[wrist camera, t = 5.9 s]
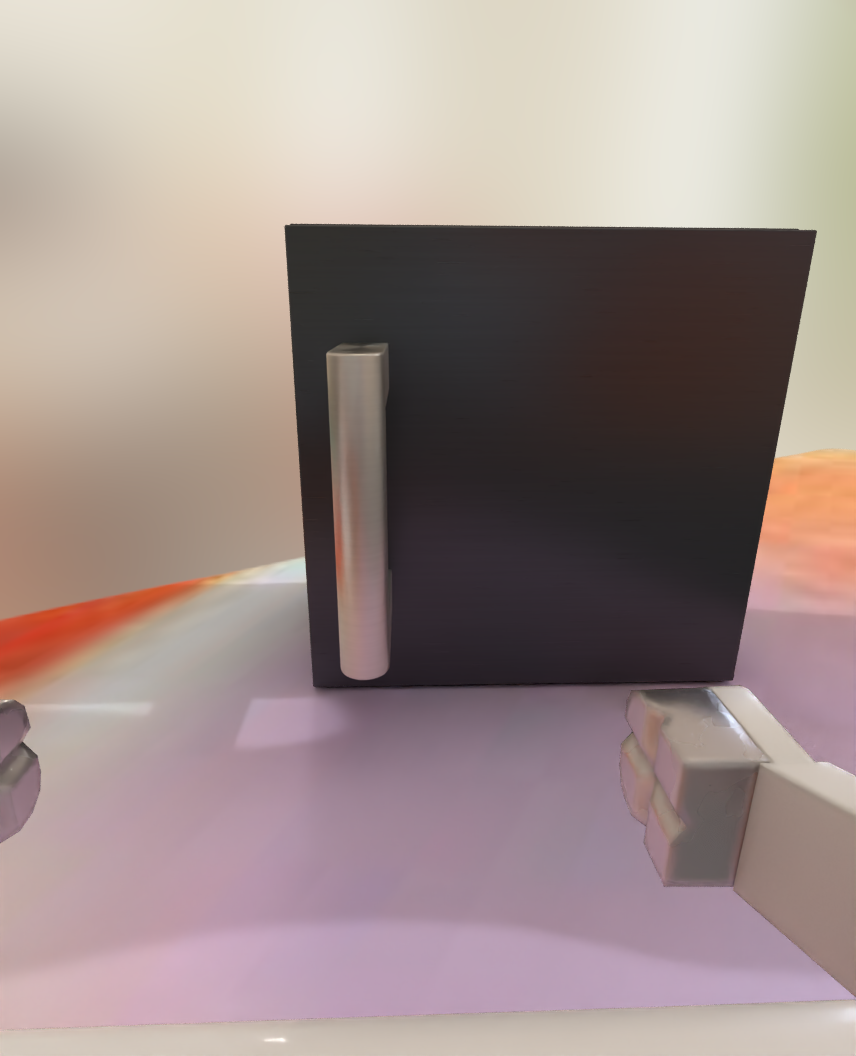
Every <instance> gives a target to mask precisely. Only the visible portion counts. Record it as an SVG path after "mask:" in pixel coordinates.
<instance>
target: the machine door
mask: <svg viewBox="0 0 856 1056" xmlns="http://www.w3.org/2000/svg"><path fill="white" fill-rule="evenodd" d="M816 233H817V231H816V230H748V229H646V228H543V227H440V226H337V225H285V241H286V257H287V272H288V289H289V304H290V321H291V337H292V353H293V369H294V385H295V401H296V416H297V433H298V448H299V464H300V481H301V496H302V512H303V529H304V544H305V561H306V577H307V593H308V609H309V625H310V641H311V657H312V673H313V686H314V687H327V686H392V685H458V684H524V683H589V682H655V681H721V680H733V677H734V671H735V666H736V661H737V655H738V650H739V645H740V639H741V634H742V629H743V623H744V618H745V613H746V607H747V602H748V596H749V591H750V586H751V580H752V575H753V570H754V564H755V559H756V554H757V548H758V543H759V538H760V532H761V527H762V522H763V516H764V511H765V506H766V500H767V495H768V490H769V484H770V479H771V474H772V468H773V463H774V458H775V452H776V446H777V441H778V436H779V431H780V425H781V420H782V415H783V409H784V404H785V398H786V393H787V388H788V382H789V377H790V372H791V366H792V361H793V356H794V351H795V345H796V340H797V334H798V329H799V324H800V318H801V313H802V308H803V302H804V297H805V291H806V287H807V281H808V276H809V271H810V265H811V259H812V255H813V249H814V244H815V238H816Z"/></svg>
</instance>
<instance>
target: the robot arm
mask: <svg viewBox="0 0 856 1056" xmlns="http://www.w3.org/2000/svg"><path fill="white" fill-rule="evenodd" d="M625 718H626V720H627V722H628V724H629V726H630V728H631V729H632V731H633V732H632V733H631V734H630V735H629V736H628V737H627V738H626V739H625V740H624V741H623V742H622V744H621V751H620V762H619V767H620V778H621V786H622V790H623V794H624V798H625V801H626V803H627V806H628V808H629V810H630V813H631V815H632V816H633V817H634V818H636V819H637V820H638V821H640V822H641V823H642V824H644V825H645V826H646V831H645V838H644V844H645V846H646V848H647V851H648V853H649V855H650V857H651V859H652V862H653V864H654V866H655V868H656V870H657V872H658V875H659V877H660V879H661V881H662V883H663V886H664V887H733V891H735V892H736V893H737V894H738V895H739V896H740V897H741V898H743V899H744V900H745V901H746V902H747V903H748V904H749V905H751V906H752V907H753V908H754V909H755V910H756V911H757V912H759V913H760V914H761V915H762V916H763V917H764V918H765V919H767V920H768V921H769V922H770V923H771V924H772V925H773V926H775V927H776V928H777V929H778V930H779V931H780V932H781V933H783V934H784V935H785V936H786V937H787V938H788V939H789V940H791V941H792V942H793V943H794V944H795V945H796V946H797V947H799V948H800V949H801V950H802V951H803V952H804V953H806V954H807V955H808V956H809V957H810V958H811V959H812V960H814V961H815V962H816V963H817V964H818V965H819V966H820V967H822V968H823V969H824V970H825V971H826V972H827V973H828V974H830V975H831V976H832V977H833V978H834V979H835V980H836V981H838V982H839V983H840V984H841V985H842V986H843V987H844V988H846V989H847V990H848V991H849V992H850V993H851V994H852V995H854V996H855V997H856V776H855V775H853V774H851V773H849V772H847V771H845V770H843V769H841V768H839V767H837V766H835V765H833V764H831V763H829V762H815V761H814V760H813V759H812V758H811V757H810V756H809V755H808V754H807V753H806V752H805V750H804V749H803V748H802V747H801V746H800V745H799V744H798V743H797V742H796V741H795V740H794V738H793V737H792V736H791V735H790V734H789V733H788V732H787V731H786V730H785V729H784V727H783V726H782V725H781V724H780V723H779V722H778V721H777V720H776V719H775V718H774V716H773V715H772V714H771V713H770V712H769V711H768V710H767V709H766V708H765V707H764V705H763V704H762V703H761V702H760V701H759V700H758V699H757V698H756V697H755V696H754V695H753V693H752V692H751V691H750V690H749V689H747V688H745V687H742V686H740V685H735V686H716V687H703V688H682V689H655V690H631V692H630V694H629V696H628V699H627V703H626V710H625ZM30 728H31V727H30V723H29V720H28V716H27V713H26V710H25V706H24V705H22V704H20V703H19V702H17V701H15V700H0V843H1V842H3V841H4V840H6V839H8V838H9V837H11V836H12V835H14V834H15V833H17V832H19V831H20V830H21V829H22V827H23V826H24V824H25V823H26V821H27V820H28V818H29V817H30V816H31V814H32V813H33V810H34V807H35V804H36V801H37V798H38V795H39V792H40V782H41V770H40V765H39V761H38V756H37V755H36V754H35V753H34V752H33V751H32V750H31V749H30V748H29V747H27V746H26V745H25V744H24V743H23V742H22V741H23V739H24V738H25V736H26V734H27V733H28V731H29V729H30ZM0 1056H856V1000H830V1001H802V1002H775V1003H747V1004H720V1005H693V1006H666V1007H637V1008H608V1009H579V1010H550V1011H521V1012H491V1013H462V1014H433V1015H404V1016H375V1017H346V1018H318V1019H291V1020H263V1021H235V1022H207V1023H179V1024H151V1025H123V1026H95V1027H67V1028H39V1029H11V1030H0Z"/></svg>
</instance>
